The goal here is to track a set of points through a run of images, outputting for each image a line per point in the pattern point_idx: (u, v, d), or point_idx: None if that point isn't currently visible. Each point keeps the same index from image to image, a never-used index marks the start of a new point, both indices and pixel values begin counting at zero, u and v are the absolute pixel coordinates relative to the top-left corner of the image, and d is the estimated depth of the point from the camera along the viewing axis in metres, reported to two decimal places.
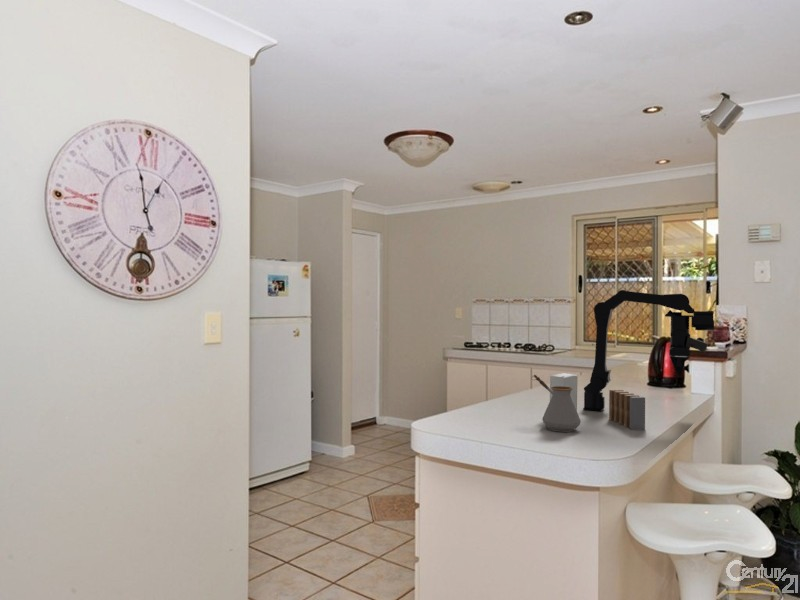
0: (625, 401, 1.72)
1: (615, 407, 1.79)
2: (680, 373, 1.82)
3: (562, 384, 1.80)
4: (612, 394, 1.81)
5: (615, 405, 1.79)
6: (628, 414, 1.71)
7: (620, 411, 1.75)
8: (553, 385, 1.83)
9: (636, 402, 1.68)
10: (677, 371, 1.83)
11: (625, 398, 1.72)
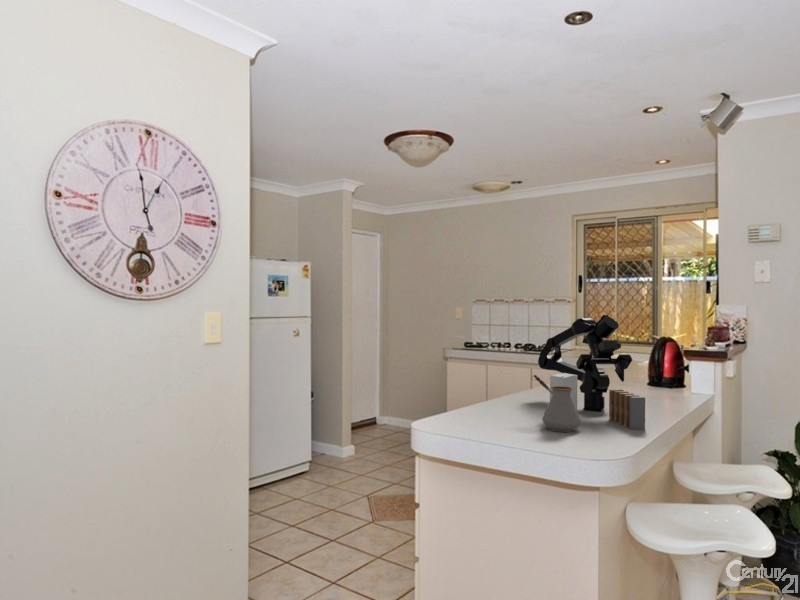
0: (625, 401, 1.72)
1: (615, 407, 1.79)
2: (598, 378, 1.87)
3: (562, 384, 1.80)
4: (612, 394, 1.82)
5: (615, 405, 1.79)
6: (628, 414, 1.71)
7: (620, 411, 1.75)
8: (553, 385, 1.83)
9: (636, 402, 1.68)
10: (596, 378, 1.88)
11: (625, 398, 1.72)
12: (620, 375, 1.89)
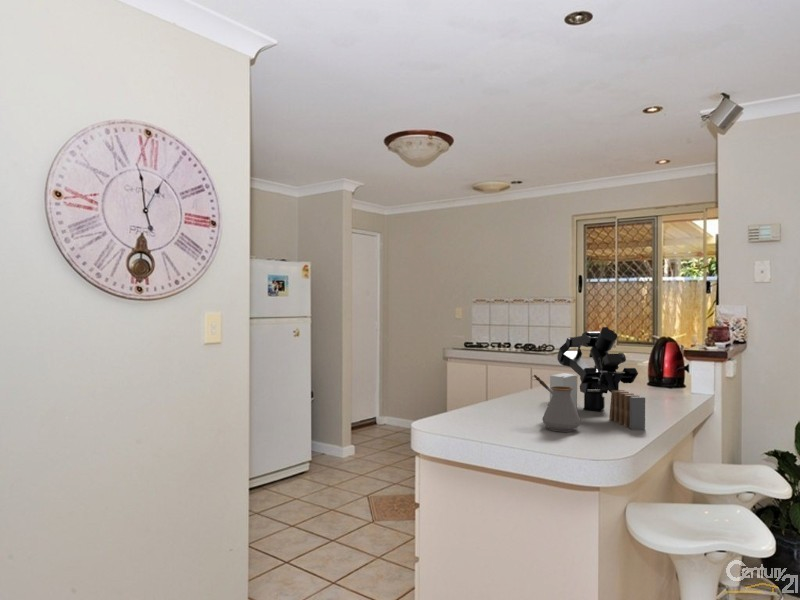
0: (625, 401, 1.72)
1: (615, 407, 1.79)
2: None
3: (562, 384, 1.80)
4: None
5: (615, 405, 1.79)
6: (628, 414, 1.71)
7: (620, 411, 1.75)
8: (553, 385, 1.83)
9: (636, 402, 1.68)
10: None
11: (625, 398, 1.72)
12: (614, 389, 1.84)
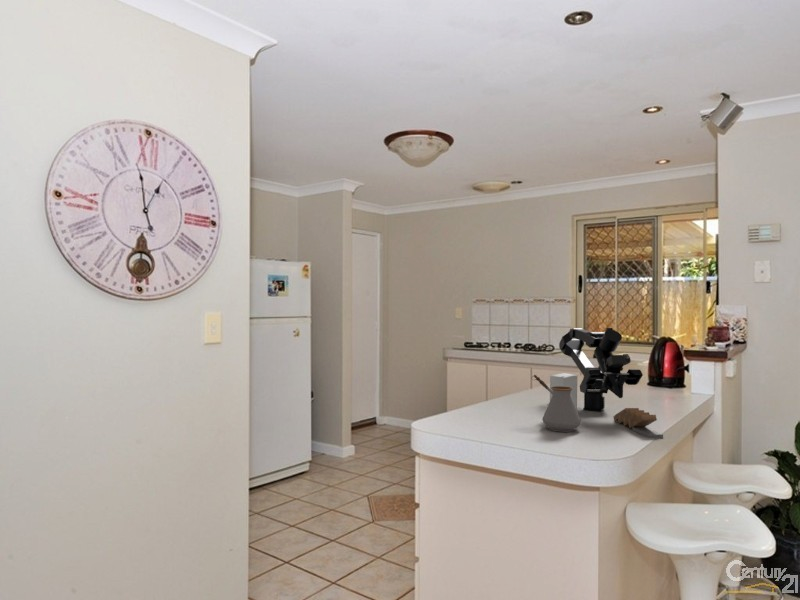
0: (639, 419, 1.62)
1: (624, 416, 1.73)
2: (618, 394, 1.80)
3: (562, 384, 1.80)
4: None
5: (625, 417, 1.72)
6: (636, 425, 1.66)
7: (628, 420, 1.69)
8: (553, 385, 1.83)
9: None
10: (616, 394, 1.81)
11: (640, 418, 1.62)
12: None
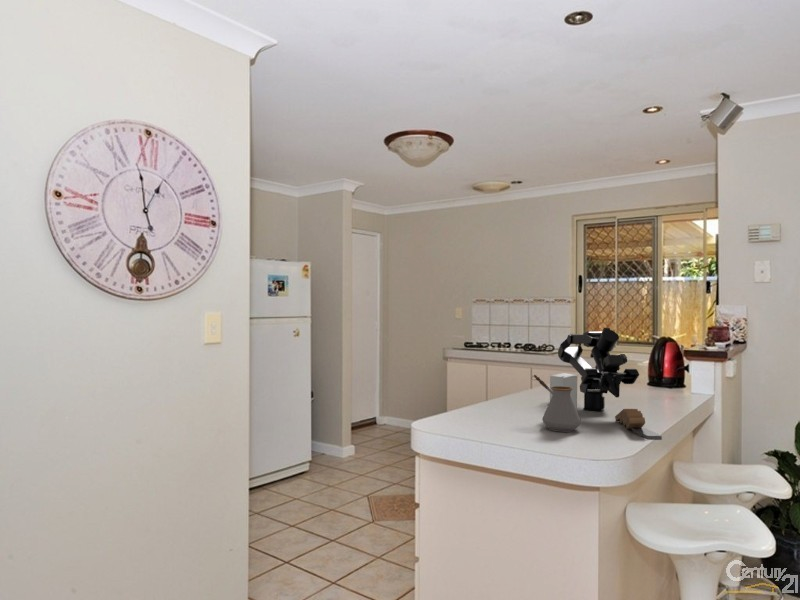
0: (628, 421, 1.62)
1: (623, 417, 1.72)
2: (614, 393, 1.82)
3: (562, 384, 1.80)
4: None
5: (623, 417, 1.71)
6: (630, 426, 1.65)
7: (625, 421, 1.69)
8: (553, 385, 1.83)
9: None
10: (612, 393, 1.83)
11: (629, 421, 1.61)
12: None
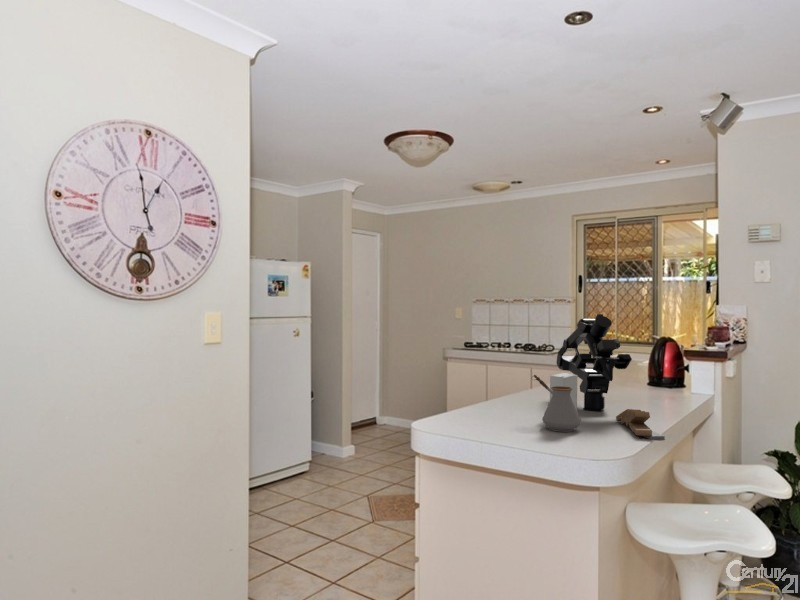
0: (634, 430, 1.59)
1: (625, 417, 1.71)
2: (608, 377, 1.87)
3: (562, 384, 1.80)
4: None
5: (626, 417, 1.70)
6: None
7: (629, 420, 1.67)
8: (553, 385, 1.83)
9: None
10: (606, 377, 1.88)
11: (635, 431, 1.58)
12: None
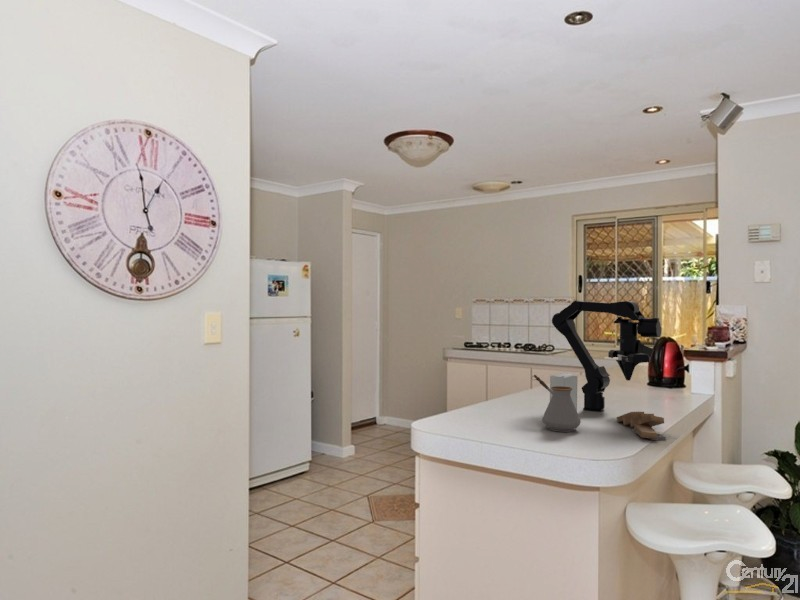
0: (639, 432, 1.57)
1: (631, 419, 1.69)
2: (629, 377, 1.91)
3: (562, 384, 1.80)
4: None
5: (633, 419, 1.68)
6: None
7: (639, 422, 1.64)
8: (553, 385, 1.83)
9: None
10: (627, 375, 1.91)
11: (640, 433, 1.56)
12: None
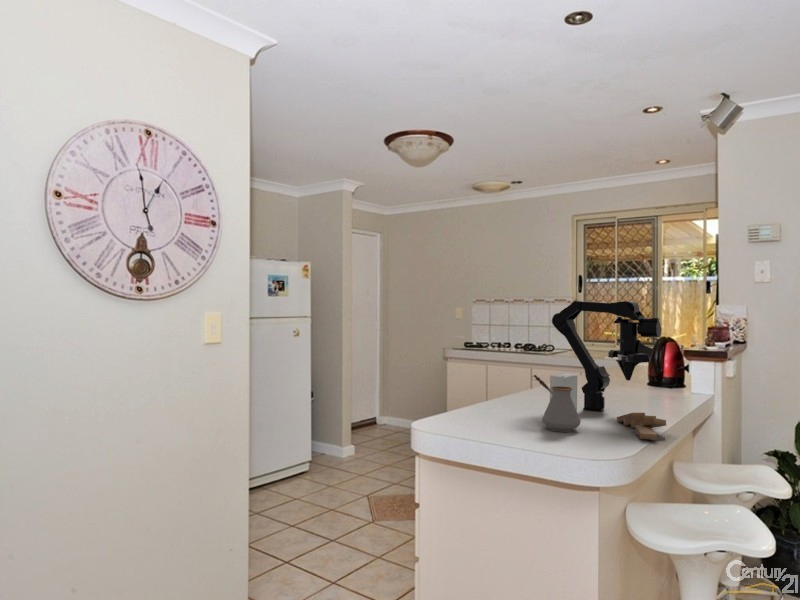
0: (639, 434, 1.56)
1: (633, 419, 1.69)
2: (629, 377, 1.91)
3: (562, 384, 1.80)
4: None
5: (634, 420, 1.68)
6: None
7: (640, 423, 1.64)
8: (553, 385, 1.83)
9: None
10: (627, 375, 1.91)
11: (640, 434, 1.55)
12: None
